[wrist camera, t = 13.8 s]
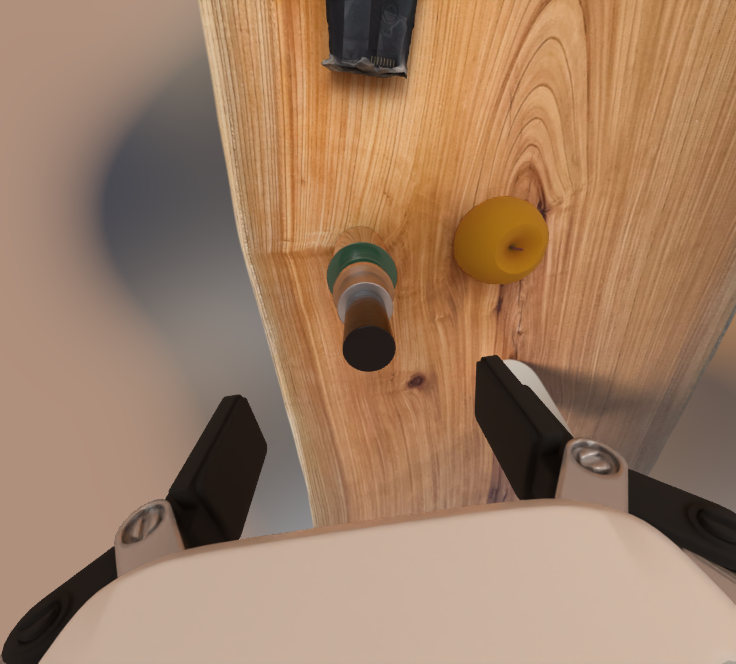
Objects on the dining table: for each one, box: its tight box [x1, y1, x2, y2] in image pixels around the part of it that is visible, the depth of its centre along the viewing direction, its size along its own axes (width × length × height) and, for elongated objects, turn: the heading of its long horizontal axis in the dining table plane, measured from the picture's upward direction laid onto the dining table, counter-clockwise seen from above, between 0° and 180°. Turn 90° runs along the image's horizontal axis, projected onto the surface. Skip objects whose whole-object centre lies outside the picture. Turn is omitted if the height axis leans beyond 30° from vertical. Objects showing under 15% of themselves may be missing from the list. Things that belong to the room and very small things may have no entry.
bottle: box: [327, 226, 397, 308], centre depth 32 cm, size 7×7×17 cm
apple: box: [453, 196, 549, 285], centre depth 34 cm, size 10×10×12 cm
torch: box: [337, 271, 396, 372], centre depth 20 cm, size 4×4×9 cm
